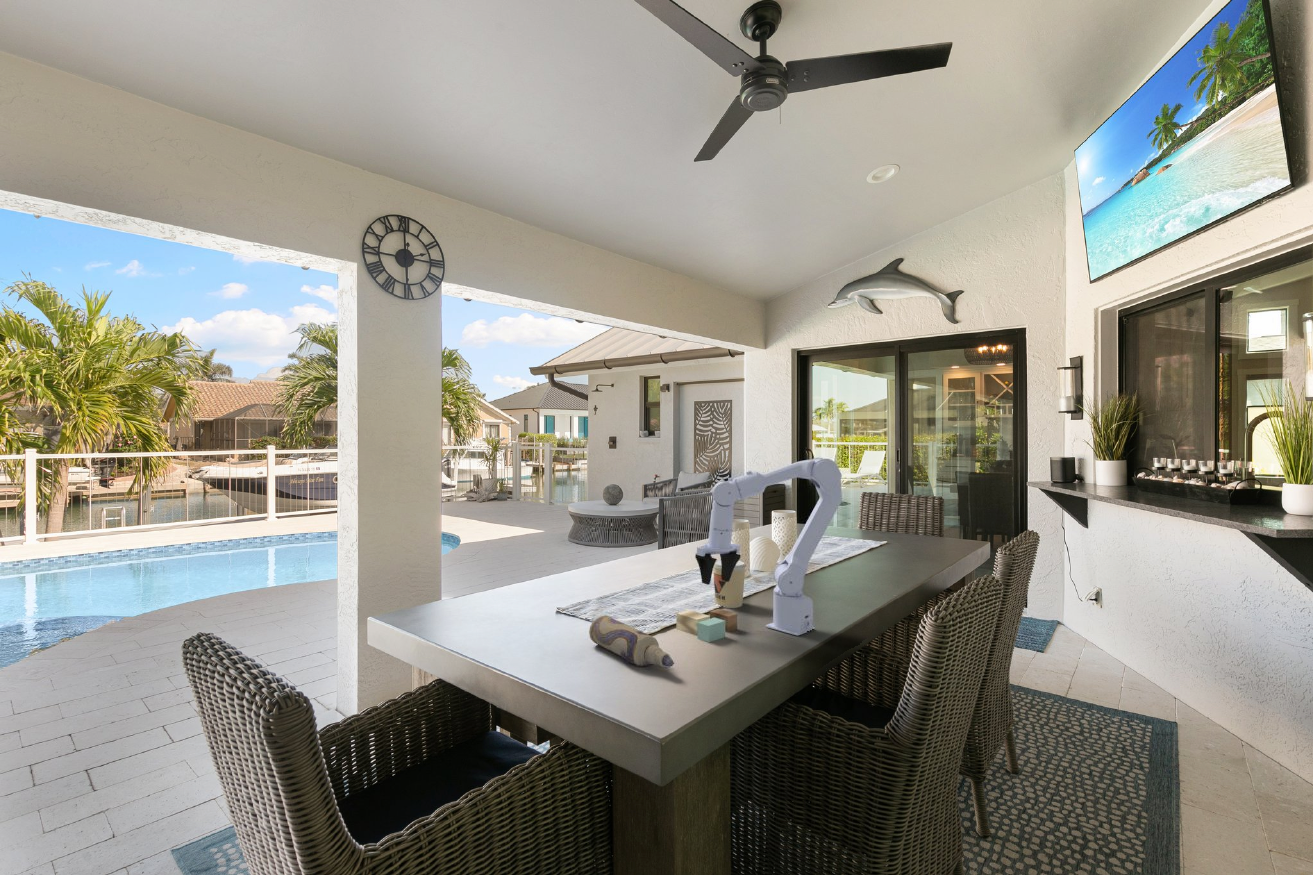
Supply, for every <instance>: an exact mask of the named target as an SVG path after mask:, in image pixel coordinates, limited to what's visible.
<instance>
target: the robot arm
mask: <svg viewBox="0 0 1313 875" xmlns="http://www.w3.org/2000/svg"><path fill="white" fill-rule="evenodd" d="M745 473H746V474H744V475H743V474H742V475H741V476H740V475H739V476H738V477H734V478H733V477H728V481H720V482H718V483H716V485H714V487H713V490H712V491H711V494H712V498H713V501H712V505H711V507H712V509H711V512H710V520H709V533H708V543H705V544H704V545H702V546H697V548H696V552H695V557H694V558H695V560H696V561H697V564H698V567H699V572H700V577H701V583H702V584H704V585H711V581H712V576H713V572H714V565H715V562H716V561H717V558H715V557H713V556H714V555H719V556H720V560H721V565H722V569H721V579H722V580H723V581H727V582H729V581H730V578H731V575H732V572H733V570H734V567H735V566H736V564H737V562H738V561H740V559H741V554H739V553H740V550H741V545H740V544H736V543H735V544H734V543H733V544H732V536H733V525H734V517H735V515H734V514H735V512H734V504H735V502H736V501H737V500H739V501H741V500H744V499H748V498H751V497H755V496H758V495H760V494H763V493H764V492H765V489H766V488H767V487H768V486H771V485H772V486H773V485H775V484H779V483H782V482H785V481H789V480H791V479H792V480H793V479H795V478H796V479H797V478H799V479H807V480H810V481H811V482H812V483H813V485H814V486H815V489H816V491H817V493H818V496H819V498H818V500H817V502H816V504H815V506H814V508H813V510H812V512H811V513H810V515H809V516H808V519H807V520H806V523H805V524H804V526H803V528H802V530H801V532H800V533H799V536H798V537H797V538H796V541H795V543H794V544H793V547H792V548H791V550H790V552H789V553H787V554H786V556H785V557H784V559H783V560H782V562H780V563H779V564H777V565H776V566H775V568H774V569H773V574H772V575H773V579H774V581H775V583H776V586H775V587H774V588H773V589H772V590H773V591H772V592H773V594H772V595H773V597H772V598H773V599H772V601H773V602H772V603H773V604H772V605H773V606H772V608H773V609H772V611H773V613H772V614H773V615H772V617H773V618H772V622H771V623H768V624H765V627H766V628H768V629H772V630H775V631H780V632H783V633H787V634H789V635H794V636H800V635H803V634H805V633H808V632H807V631H809V632H810V630H811V631H813V630H812V629H814V630H815V626H814V602H813V600H812V598H810V597H809V596H806V595H805V594H803V593H804V592H803V587H804V585H805V584H804V583H805V582H804V580H805V576H806V574H807V571H808V567H809V562H810V560H811V559H812V557H813V555H814V553H815V551H816V549H817V547H818V545H819V543H820V542H821V540H822V538H823V536H824V534H825V532H826V530H827V529H828V527H829V526H830V523H831V521H832V520H833V517H834V516H835V514H836V512H837V511H838V509H839V506H840V505H841V503H842V500H843V492H842V477H843V474H842V473H841V470H840V468H839V466H838V464H837V463H836V462H835V461H834V460H832V459H830V458H823V457H814V458H812V459H806V460H800V461H796V462H793V463H791V464H787V465H784V466H782V467H780V468H777V469H773V470H771V471H768V472H766V473H760V472H759V471H756V470H755V471H753V472H752V470H748V471H746V472H745ZM712 555H713V556H712Z"/></svg>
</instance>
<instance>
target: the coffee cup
mask: <svg viewBox="0 0 1313 875" xmlns="http://www.w3.org/2000/svg"><path fill="white" fill-rule="evenodd" d="M746 567H747V566H746V565H745V562H744V561H742V560H739V561H738V562H737V564H736V566H735V567H734V570H733V572H732V575H731V578H730V581H729V582H727V581H723V580H722V579H721V569H722V565H721V559H719V560H716V562H715V565H714V567H713V586H714V587H713V588H714V597H715V598H714V601H715V605H716V604H718V605H720V606H723V607H722V608H725V609H735V608H736V609H737V608H740V607H742V606H743V600H744V589H745V576H746V573H745V572H746ZM720 606H719V607H720Z"/></svg>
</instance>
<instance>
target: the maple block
mask: <svg viewBox="0 0 1313 875" xmlns="http://www.w3.org/2000/svg"><path fill="white" fill-rule="evenodd" d="M708 619H710V615H707V614H703V613H700V612H698V611H695V610H691V609H687V610H683V611H681V612H676V627H675V628H676V630H679V631H683V632H685V633H688V634H691V635H694V636H698V622H701V621H704V620H708Z"/></svg>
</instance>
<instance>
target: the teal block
mask: <svg viewBox="0 0 1313 875" xmlns="http://www.w3.org/2000/svg"><path fill="white" fill-rule="evenodd" d="M723 638H726V631H725V620H721V619H718V618H711V619H708V620H704V621H701V622H698V635H697V639H698V640H700V641H703V642H706V643H710V642H714V641H717V640H720V639H723Z"/></svg>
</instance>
